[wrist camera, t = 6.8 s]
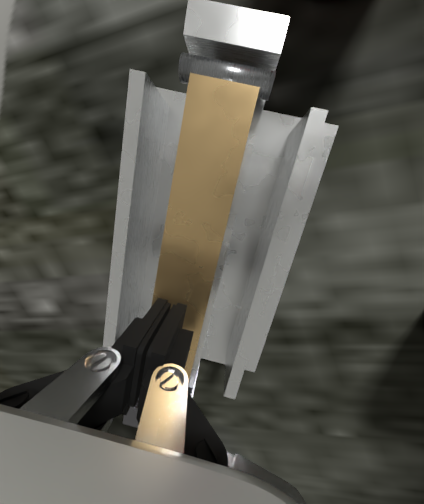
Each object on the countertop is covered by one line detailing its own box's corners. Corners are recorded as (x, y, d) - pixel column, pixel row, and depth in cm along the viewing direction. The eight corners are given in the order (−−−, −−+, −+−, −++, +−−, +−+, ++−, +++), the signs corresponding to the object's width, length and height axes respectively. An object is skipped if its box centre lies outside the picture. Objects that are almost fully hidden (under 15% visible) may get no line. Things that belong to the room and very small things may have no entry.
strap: (272, 79, 9) (277, 65, 8) (192, 398, 14) (189, 413, 13) (186, 62, 9) (181, 46, 8) (135, 383, 14) (127, 396, 13)
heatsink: (330, 118, 15) (435, 31, 7) (249, 364, 21) (260, 462, 13) (144, 79, 15) (56, -41, 8) (116, 329, 21) (49, 403, 13)
